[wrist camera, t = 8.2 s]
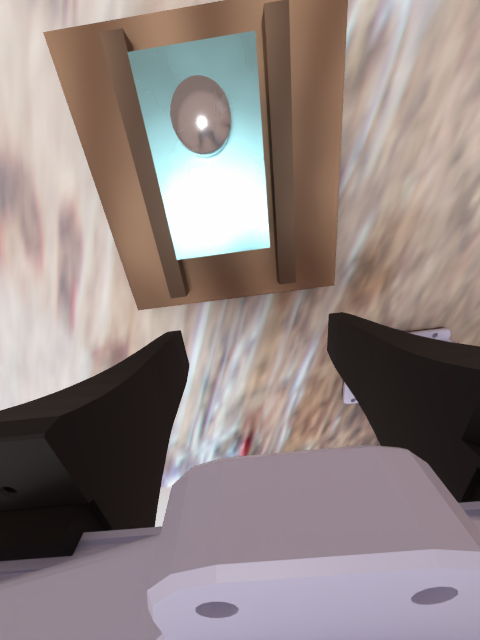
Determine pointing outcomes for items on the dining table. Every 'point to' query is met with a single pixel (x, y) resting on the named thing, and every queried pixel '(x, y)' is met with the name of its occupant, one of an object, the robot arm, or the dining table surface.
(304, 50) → the stand
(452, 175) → the dining table surface
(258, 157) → the block
